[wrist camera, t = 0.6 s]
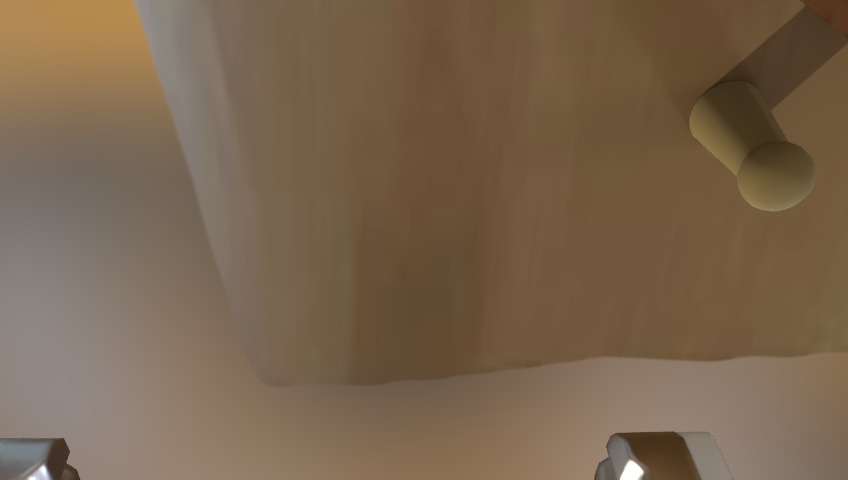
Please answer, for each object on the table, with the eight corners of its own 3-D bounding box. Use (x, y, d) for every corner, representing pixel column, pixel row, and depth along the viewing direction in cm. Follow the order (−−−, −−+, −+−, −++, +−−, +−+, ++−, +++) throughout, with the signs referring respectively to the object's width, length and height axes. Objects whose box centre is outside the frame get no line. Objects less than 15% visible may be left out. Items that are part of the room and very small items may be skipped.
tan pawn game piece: (723, 156, 62) (781, 235, 54) (673, 126, 60) (726, 204, 52) (778, 101, 59) (848, 176, 51) (727, 67, 57) (792, 140, 48)
